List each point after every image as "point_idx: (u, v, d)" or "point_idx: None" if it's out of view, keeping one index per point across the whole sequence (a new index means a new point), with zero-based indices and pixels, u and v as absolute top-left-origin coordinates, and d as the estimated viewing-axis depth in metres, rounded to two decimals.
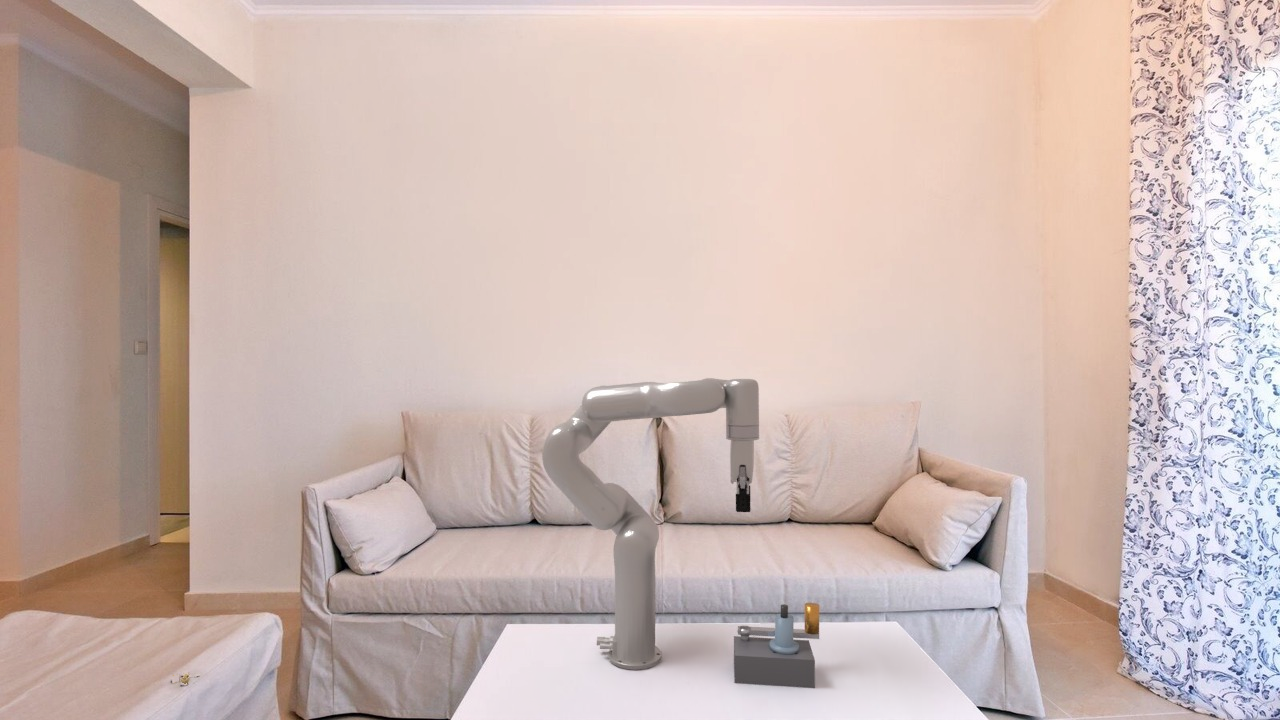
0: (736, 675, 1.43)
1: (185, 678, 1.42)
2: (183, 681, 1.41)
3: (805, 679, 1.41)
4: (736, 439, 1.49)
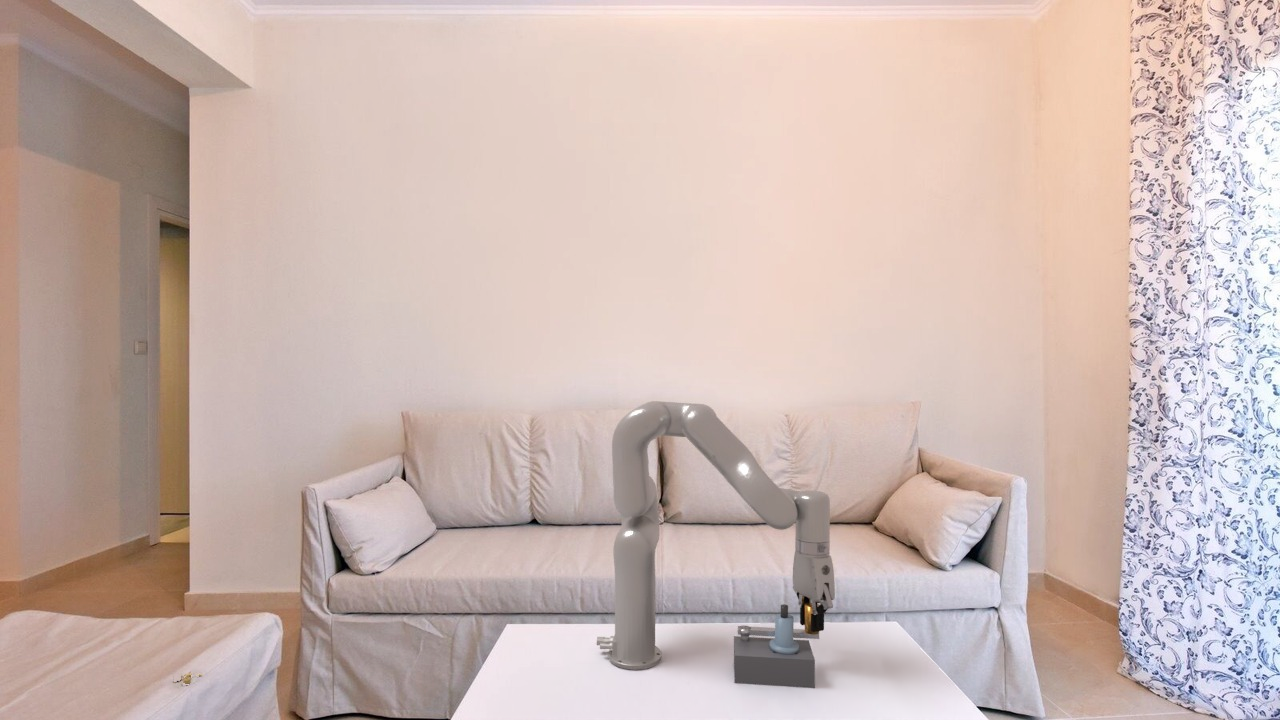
0: (736, 675, 1.43)
1: (187, 677, 1.42)
2: (185, 680, 1.41)
3: (805, 679, 1.41)
4: None
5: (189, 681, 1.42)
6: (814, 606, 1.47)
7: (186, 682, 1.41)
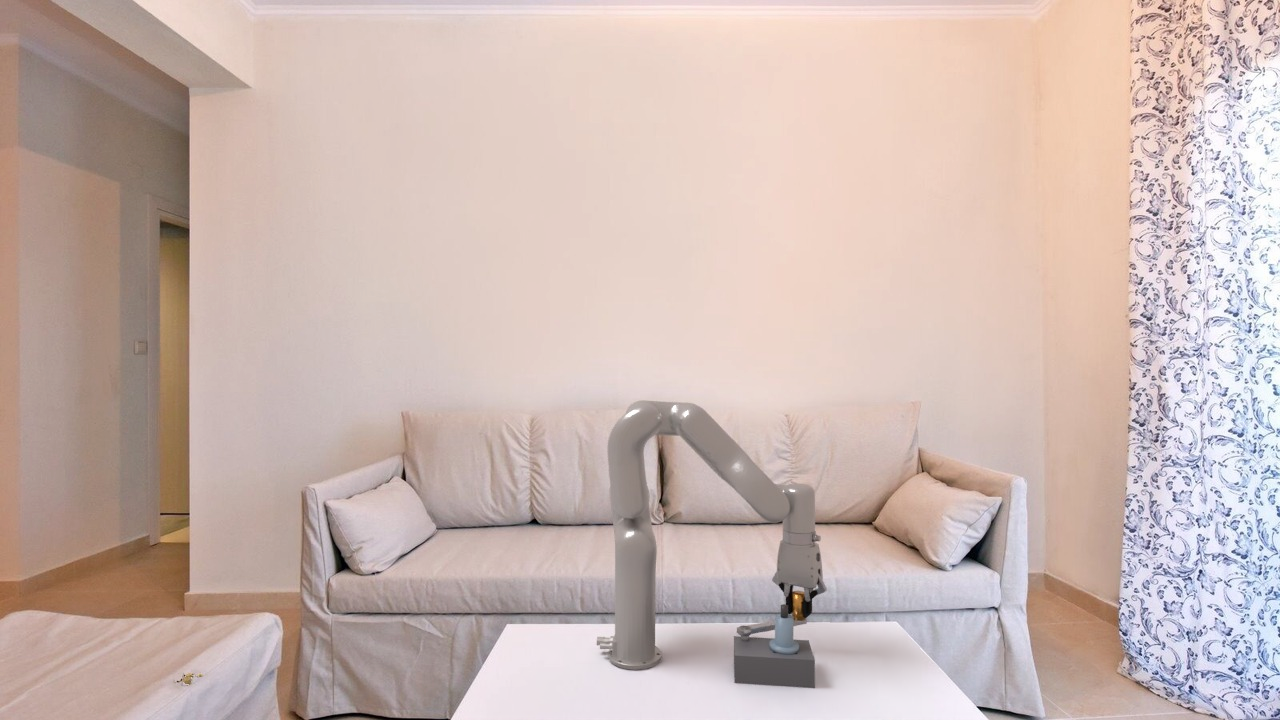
0: (736, 675, 1.43)
1: (188, 677, 1.42)
2: (185, 680, 1.41)
3: (805, 679, 1.41)
4: None
5: (189, 681, 1.42)
6: (807, 593, 1.55)
7: (186, 682, 1.41)
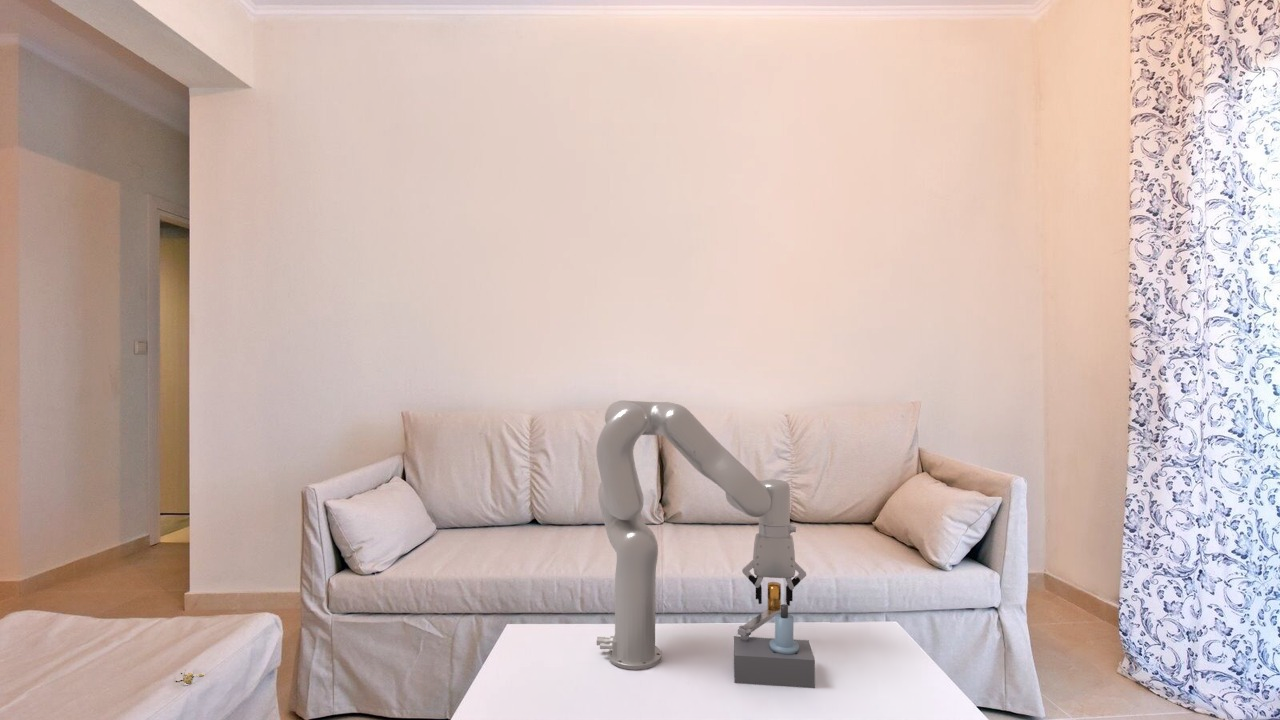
0: (736, 675, 1.43)
1: (188, 677, 1.42)
2: (186, 680, 1.41)
3: (805, 679, 1.41)
4: None
5: (190, 681, 1.42)
6: (790, 582, 1.62)
7: (187, 682, 1.41)
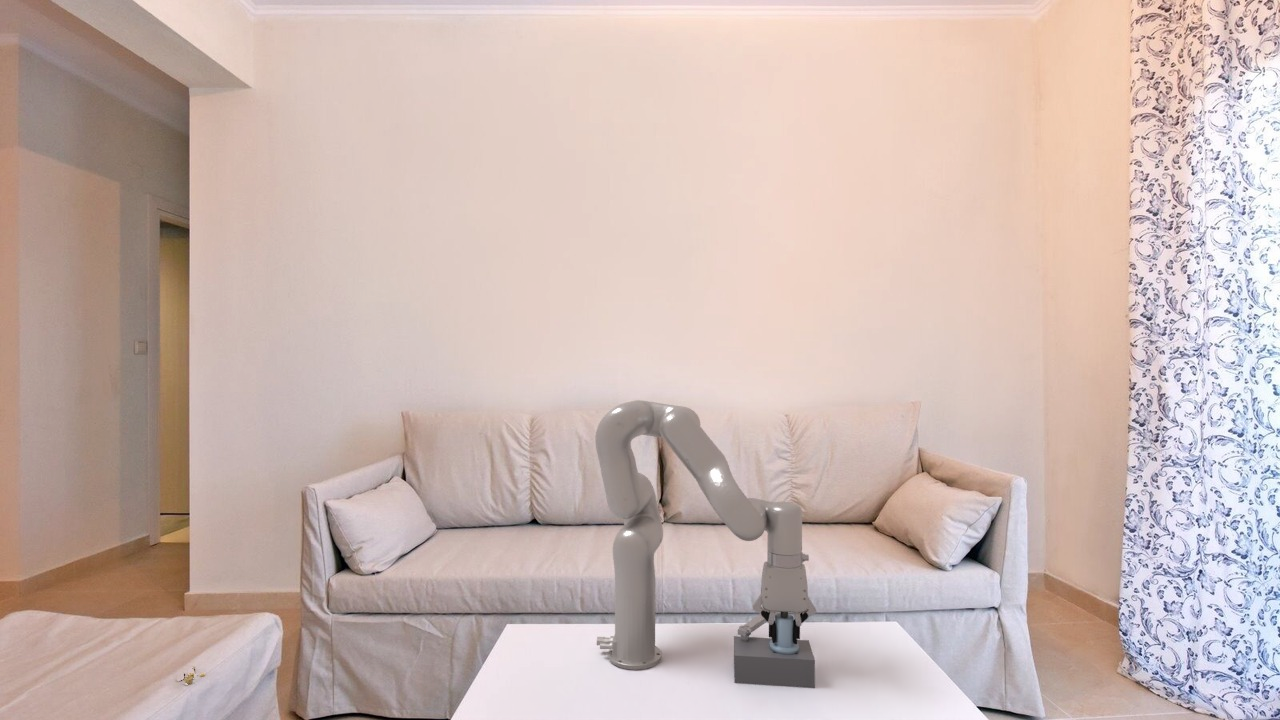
0: (736, 675, 1.43)
1: (189, 677, 1.42)
2: (186, 680, 1.41)
3: (805, 679, 1.41)
4: None
5: (191, 681, 1.42)
6: (798, 617, 1.45)
7: (187, 682, 1.41)
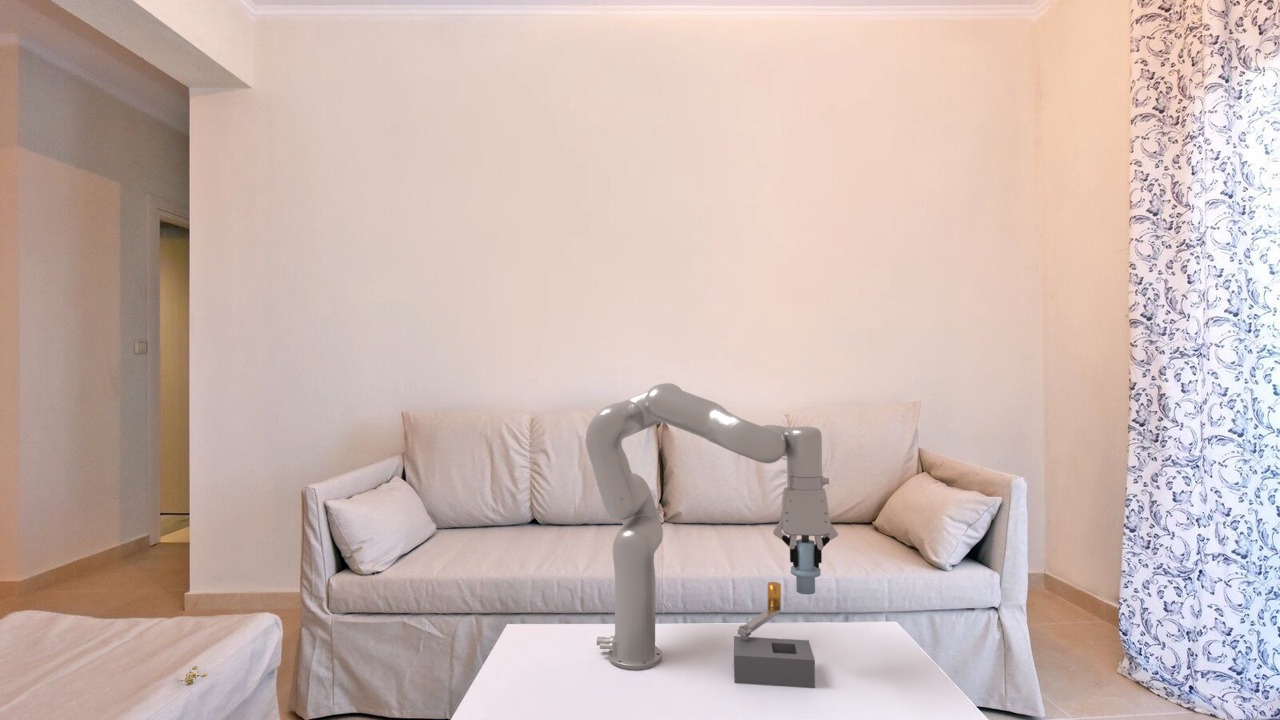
0: (736, 675, 1.43)
1: (190, 677, 1.42)
2: (187, 680, 1.41)
3: (805, 679, 1.41)
4: None
5: (191, 680, 1.42)
6: (820, 541, 1.44)
7: (188, 681, 1.41)
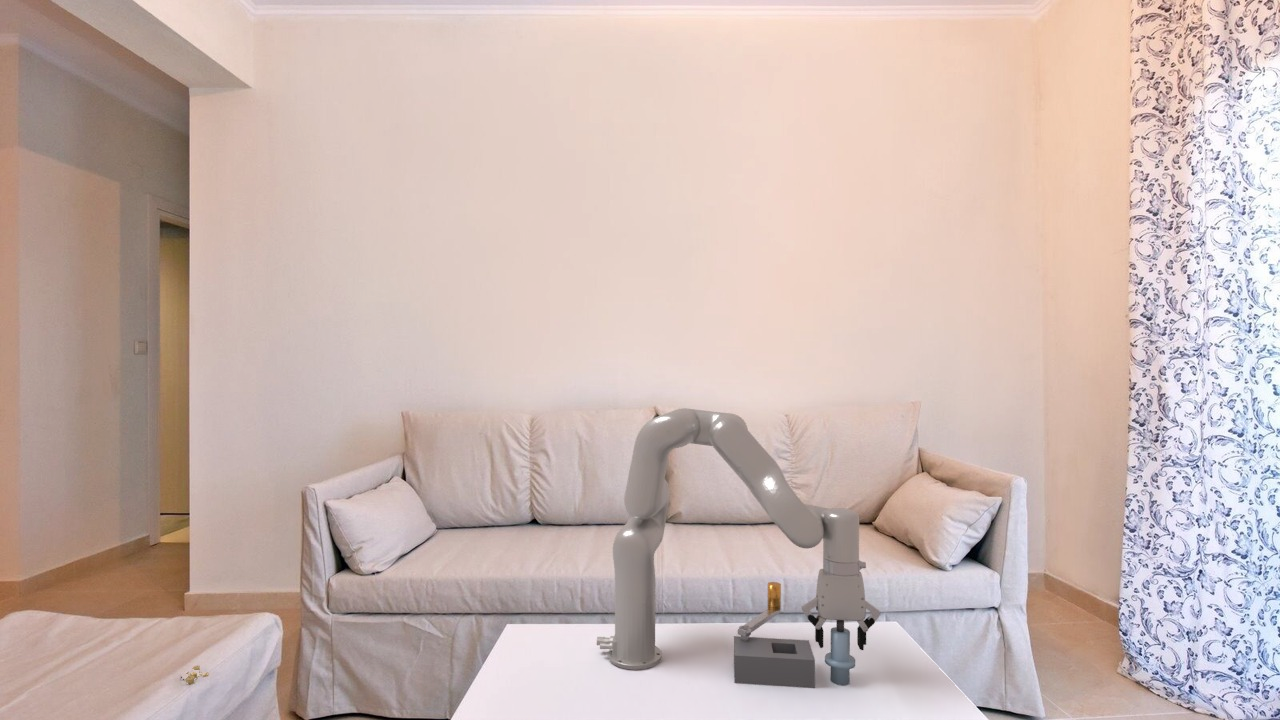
0: (736, 675, 1.43)
1: (191, 676, 1.42)
2: (188, 679, 1.42)
3: (805, 679, 1.41)
4: None
5: (192, 680, 1.42)
6: (862, 623, 1.43)
7: (189, 681, 1.42)
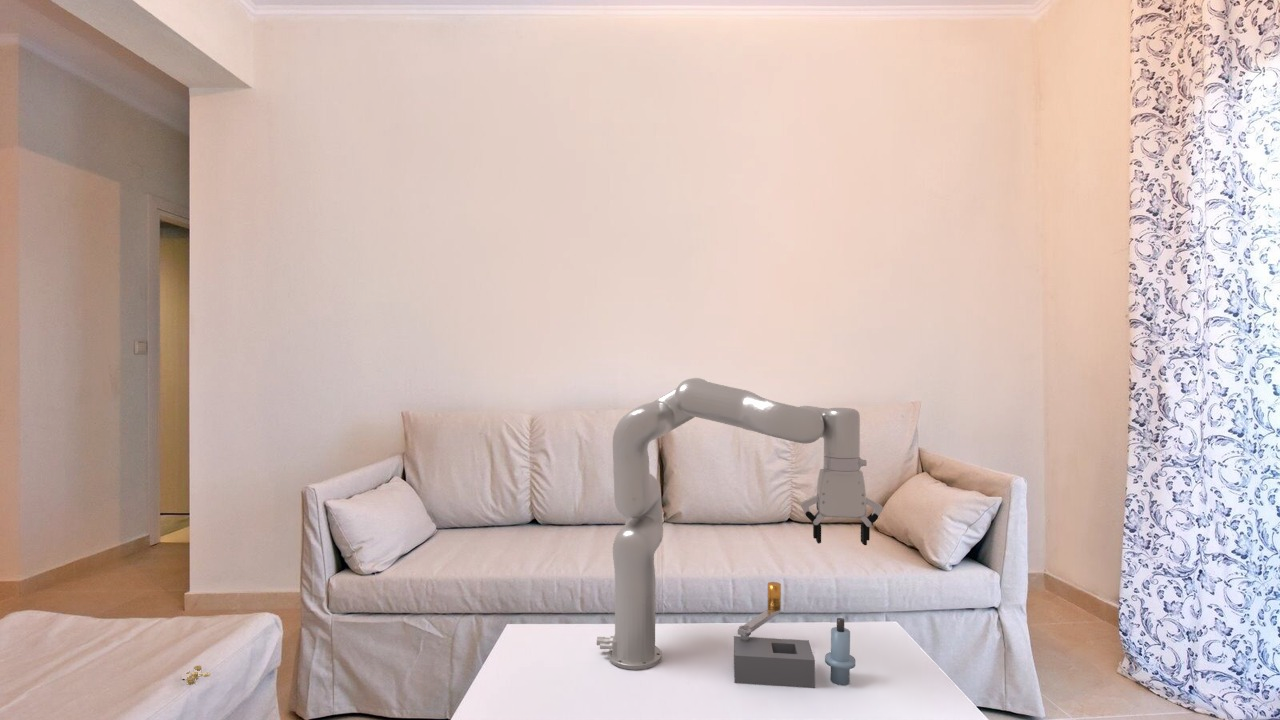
0: (736, 675, 1.43)
1: (191, 676, 1.42)
2: (188, 679, 1.42)
3: (805, 679, 1.41)
4: (824, 468, 1.46)
5: (193, 680, 1.42)
6: (865, 518, 1.42)
7: (189, 681, 1.42)
